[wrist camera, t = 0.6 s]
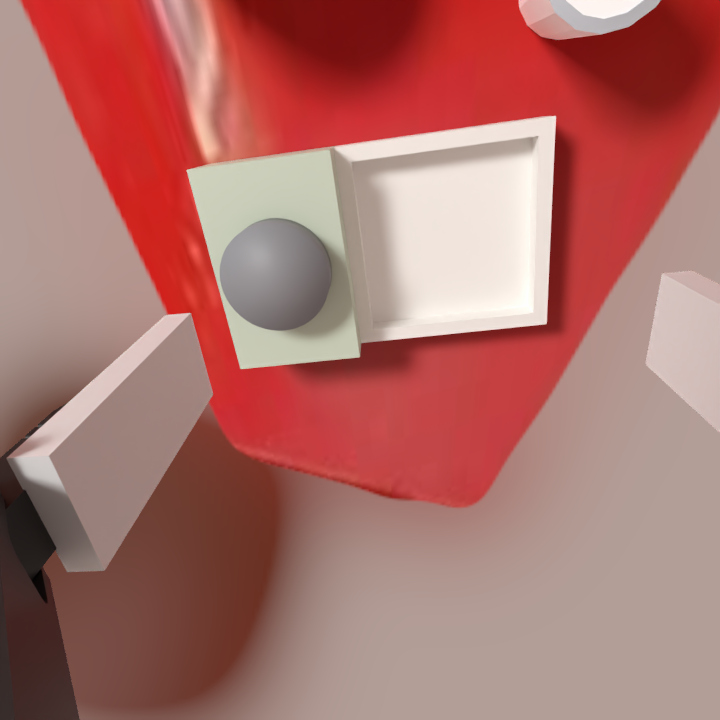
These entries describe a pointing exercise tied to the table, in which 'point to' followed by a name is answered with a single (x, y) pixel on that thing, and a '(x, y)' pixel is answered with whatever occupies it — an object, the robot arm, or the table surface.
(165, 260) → the table surface
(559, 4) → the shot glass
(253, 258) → the knobbed tray panel
